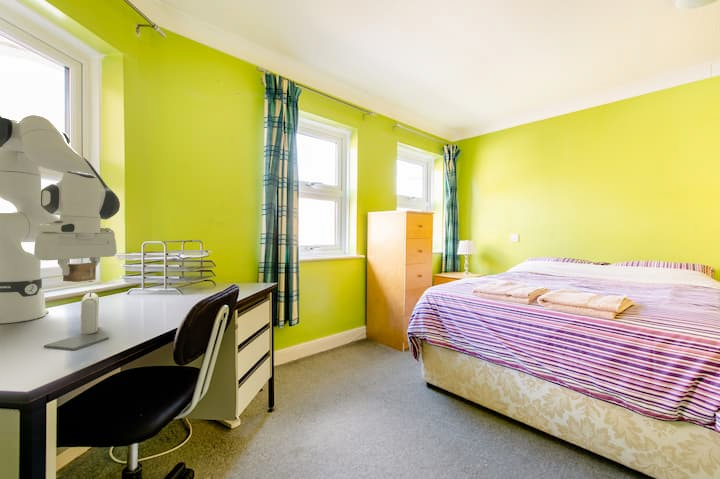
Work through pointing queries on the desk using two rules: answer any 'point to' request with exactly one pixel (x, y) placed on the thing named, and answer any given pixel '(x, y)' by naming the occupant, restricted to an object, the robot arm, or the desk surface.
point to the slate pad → (76, 342)
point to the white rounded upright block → (89, 313)
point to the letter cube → (81, 272)
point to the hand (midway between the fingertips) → (79, 273)
